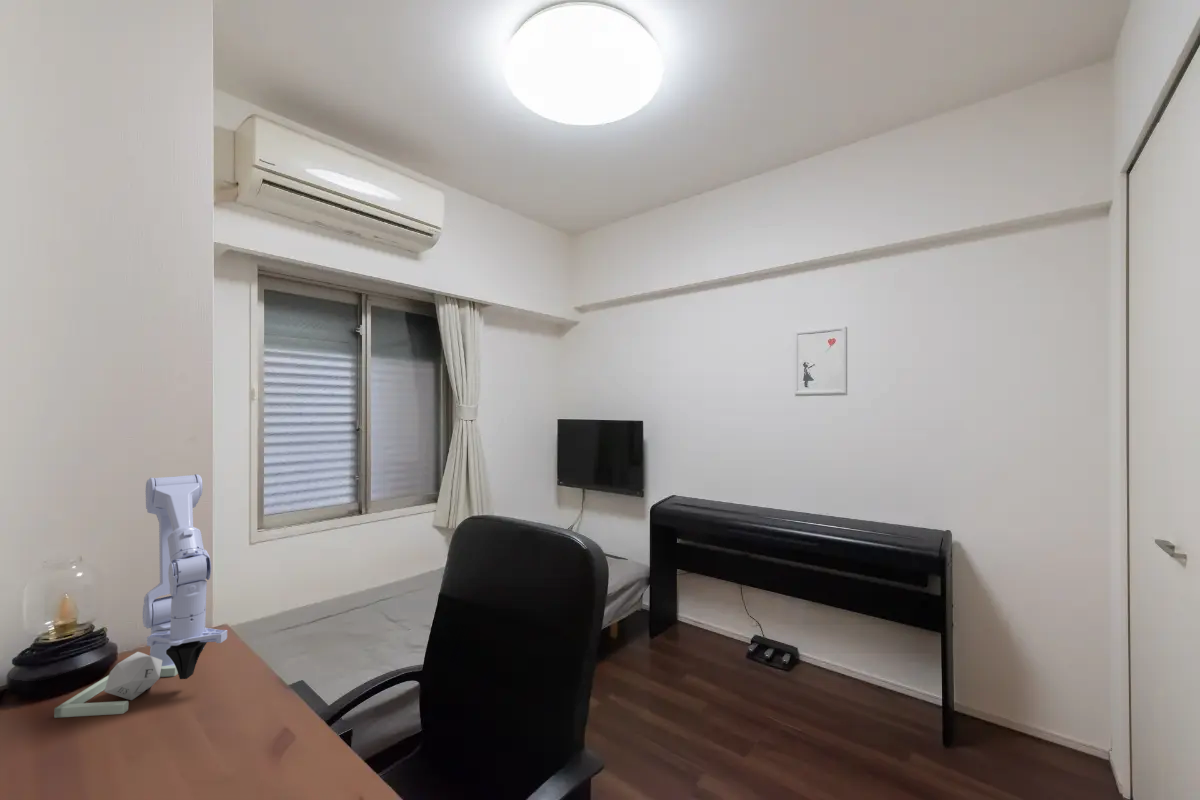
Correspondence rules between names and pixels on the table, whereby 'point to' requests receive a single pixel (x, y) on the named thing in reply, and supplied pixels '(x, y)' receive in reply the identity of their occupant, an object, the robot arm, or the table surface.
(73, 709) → the bay
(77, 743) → the table surface
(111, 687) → the die
